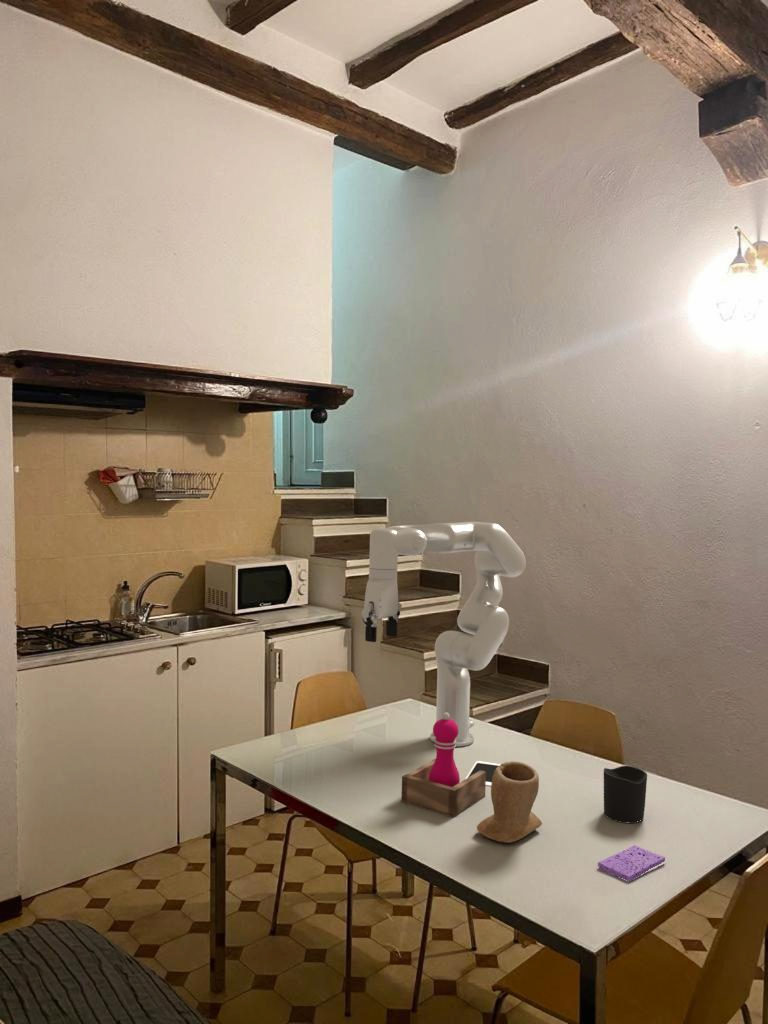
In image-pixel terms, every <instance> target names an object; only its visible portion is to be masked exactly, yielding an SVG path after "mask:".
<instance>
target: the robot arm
mask: <svg viewBox="0 0 768 1024" xmlns="http://www.w3.org/2000/svg"><path fill="white" fill-rule="evenodd" d="M475 551H476V552H475ZM424 552H426V553H430V554H432V553H433V554H451V553H461V552H475V556H474V566H475V571H476V583H475V584H476V585H475V587H474V588H473V591H471V594H470V595H469V596H468V598H467V600H466V602H465V603H464V605H463V607H462V608H461V609H460V611H459V613H458V616H457V618H456V622H457V626H458V628H459V629H460V630H461V631H457V630H447V631H444V632H441V633H440V634H439V635H438V637H437V638H436V640H435V643H434V656H435V661H436V671H437V673H436V677H437V679H436V681H437V682H436V705H435V706H436V712H435V713H436V714H435V715H436V717H435V722H436V721H438V720H440V719H443V718H442V715H443V714H444V713H448V714H449V715H450V718H449V719H451V720H453V721H454V722H455V723H456V724H457V726H458V730H459V732H458V736H457V737H456V738H455V740H456V747H466V746H469V745H472V743H474V740H475V739H474V738H475V737H474V735H473V734H471V733H470V731H469V730H470V729H471V728H473V727H474V725H475V722H474V721H473V720H470V700H471V698H470V697H471V676H470V673H469V670H470V671H481V670H483V669H485V668H486V667H487V666H488V665H489V663H491V661H492V659H493V657H494V656H495V654H496V652H497V650H498V649H499V648H500V646H501V644H502V642H503V641H504V639H505V637H506V636H507V633H508V630H509V627H510V617H509V614H508V612H507V611H506V609H504V608H503V607H501V606H499V604H500V603H501V600H502V598H503V592H504V591H503V585H502V582H501V577H507V578H516V577H518V576H520V575H522V574H523V573H524V571H525V570H526V564H527V562H526V556H525V553H524V552H523V551H522V549H521V548H520V546H519V545H518V544H517V543H516V542H515V540H514V539H513V538H512V537H511V535H510V534H509V533H508V532H507V531H506V529H504V528H503V527H502V526H500V525H499V524H498V523H495V522H483V521H462V522H448V523H447V522H446V523H445V522H444V523H443V522H442V523H431V524H430V523H429V524H407V525H393V526H391V525H390V526H388V527H386V528H374V529H372V530H371V531H370V535H369V560H368V561H369V562H368V563H369V566H368V580H367V583H366V588H365V594H364V604H363V606H364V607H363V609H362V610H361V616H362V621H363V623H364V624H363V625H364V627H365V635H364V636H365V637H364V640H365V642H371V643H376V642H377V633H378V632H377V626H376V625H377V623H378V620H382V619H387V621H386V622H385V623H386V628H385V629H386V631H385V632H386V633H385V635H386V636H387V637H393V638H396V637H398V622H399V620H400V619H399V617H400V615H401V609H402V607H403V605H402V603H400V602H399V590H398V589H399V588H398V563H399V562H398V558H399V557H398V556H399V555H401V556H409V557H413V556H418V555H421V554H422V553H424ZM462 631H463V632H462ZM429 739H430V740H431V742H432V743H434V744H435V739H436V737H435V736H434V734H433V732H431V733H430V737H429ZM456 747H455V748H456Z"/></svg>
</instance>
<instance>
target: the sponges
mask: <svg viewBox="0 0 768 1024" xmlns="http://www.w3.org/2000/svg"><path fill="white" fill-rule="evenodd" d="M664 861H665V862H666V857H665V856H662V855H660V854H659V853H656V852H652V851H650V850H648V849H644V848H643V847H641V846H638V845H636V844H634V845H632V846H629V847H628V848H626V849H625V850H622V851H619V852H617V853H616V854H612V855H610V856H608V857H606V858H604V859H602V860H599V861H598V862H597V867H598V868H599V870H600V869H601V871H602V870H603V872H605V871H606V872H605V873H607V874H609V873H611V874H610V875H612V874H613V875H612V876H614V875H615V876H614V877H617V876H618V877H620V878H619V879H621V878H623V879H625V880H627V881H630V882H632V881H633V880H632V879H634V878H636V877H638V876H640V875H641V874H643V873H645V872H646V871H648V870H649V869H651V868H653V867H655V866H657V865H659V864H661V863H662V862H664ZM618 877H617V878H618ZM640 877H641V876H640ZM638 878H639V877H638ZM623 879H622V880H623ZM636 879H637V878H636ZM625 880H624V881H625ZM631 880H632V881H631ZM634 880H635V879H634ZM627 881H626V882H627Z"/></svg>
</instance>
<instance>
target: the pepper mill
mask: <svg viewBox="0 0 768 1024" xmlns="http://www.w3.org/2000/svg"><path fill="white" fill-rule="evenodd" d="M442 718H443V719H440V720H438V721H436V720H435V722H434V724H433V727H432V733H433V734H434V736H435V737H436V739H435V743H434V747H436V748H435V749H436V755H435V758H434V759H435V762H434V764H433V766H432V768H431V771H430V774H429V781H431V782H435V783H439V784H442V785H446V786H450V787H453V786H455V785H457V784H458V783H460V782H461V779H460V773H459V770H458V767H457V765H456V762H455V758H454V750H455V748H456V740H455V738H456V737H457V736H458V732H459V730H458V726H457V724H456V723H455V722H454V721H453V720H451V719H449V718H450V715H449V714H448V713H444V714H443V715H442Z"/></svg>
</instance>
